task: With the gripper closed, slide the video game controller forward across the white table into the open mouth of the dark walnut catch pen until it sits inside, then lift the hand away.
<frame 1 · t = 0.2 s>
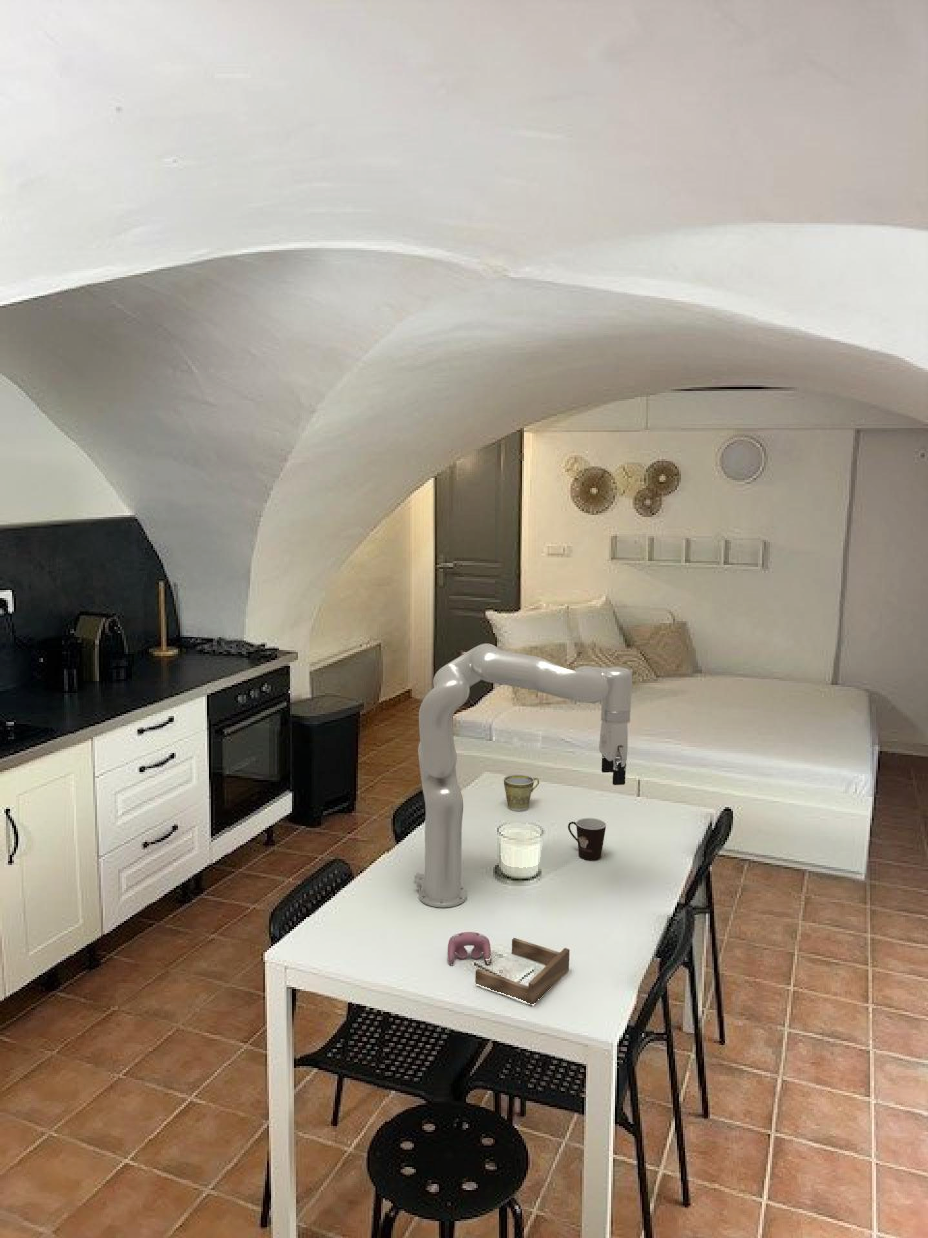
hand: (612, 778, 240), 31 cm above the table, tool pointing down, fingers open, 9 cm apart
coffee mug: (587, 855, 267), on the table
catch pen: (522, 977, 202), on the table
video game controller: (469, 960, 210), on the table
ceramic cup: (521, 808, 304), on the table
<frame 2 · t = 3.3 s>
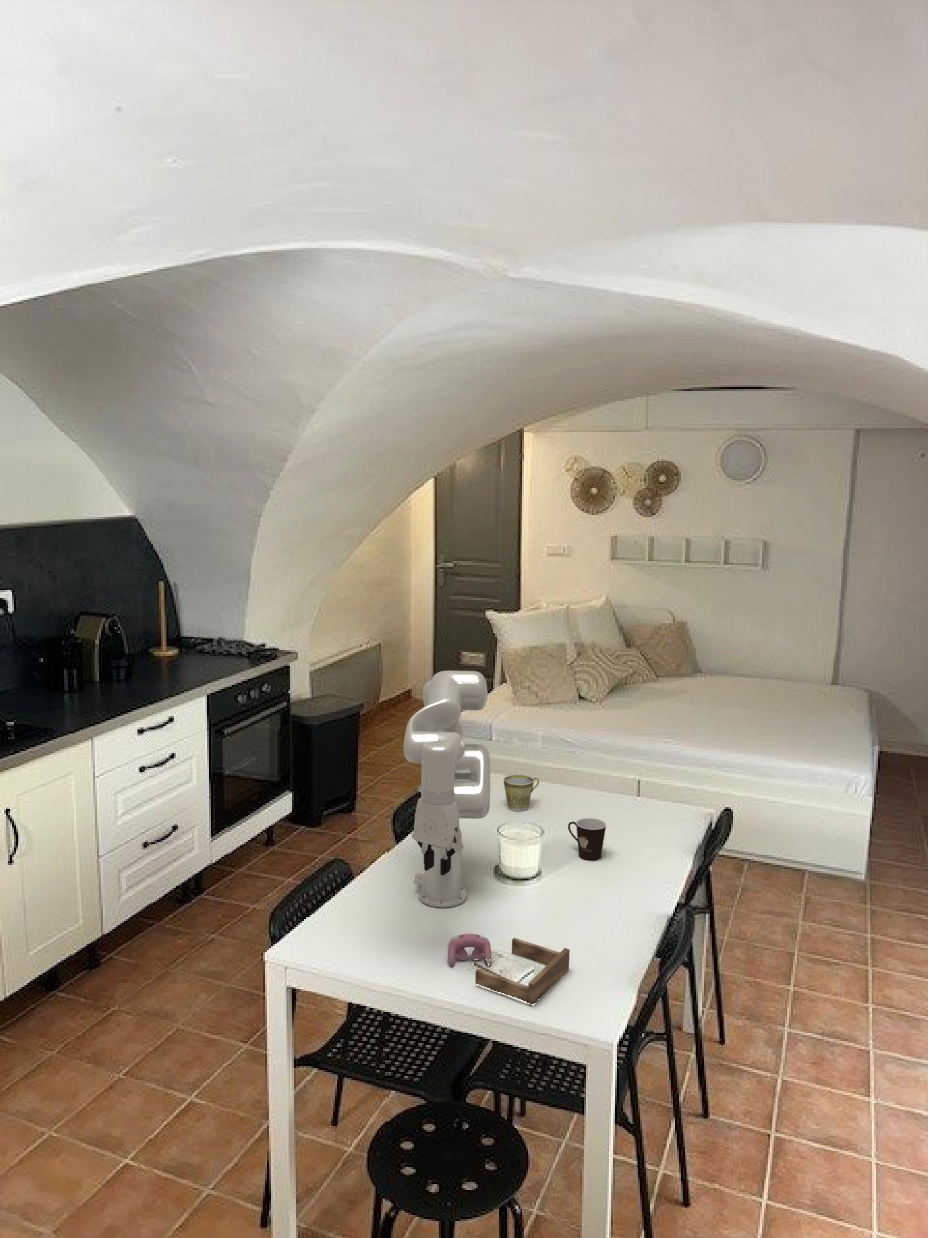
hand: (437, 870, 211), 19 cm above the table, tool pointing down, fingers open, 3 cm apart
nothing on the table moved.
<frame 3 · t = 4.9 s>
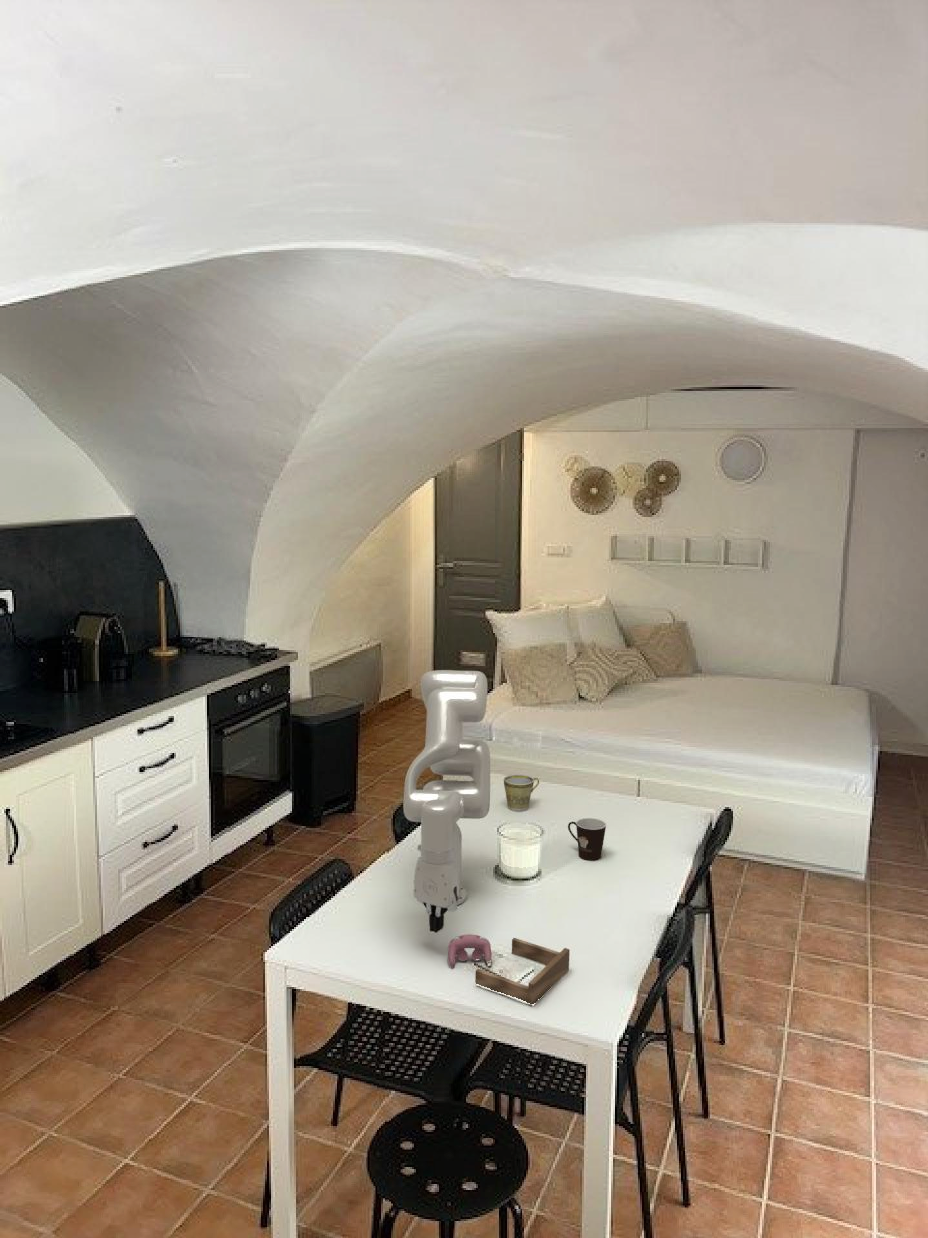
hand: (436, 929, 213), 5 cm above the table, tool pointing down, fingers closed
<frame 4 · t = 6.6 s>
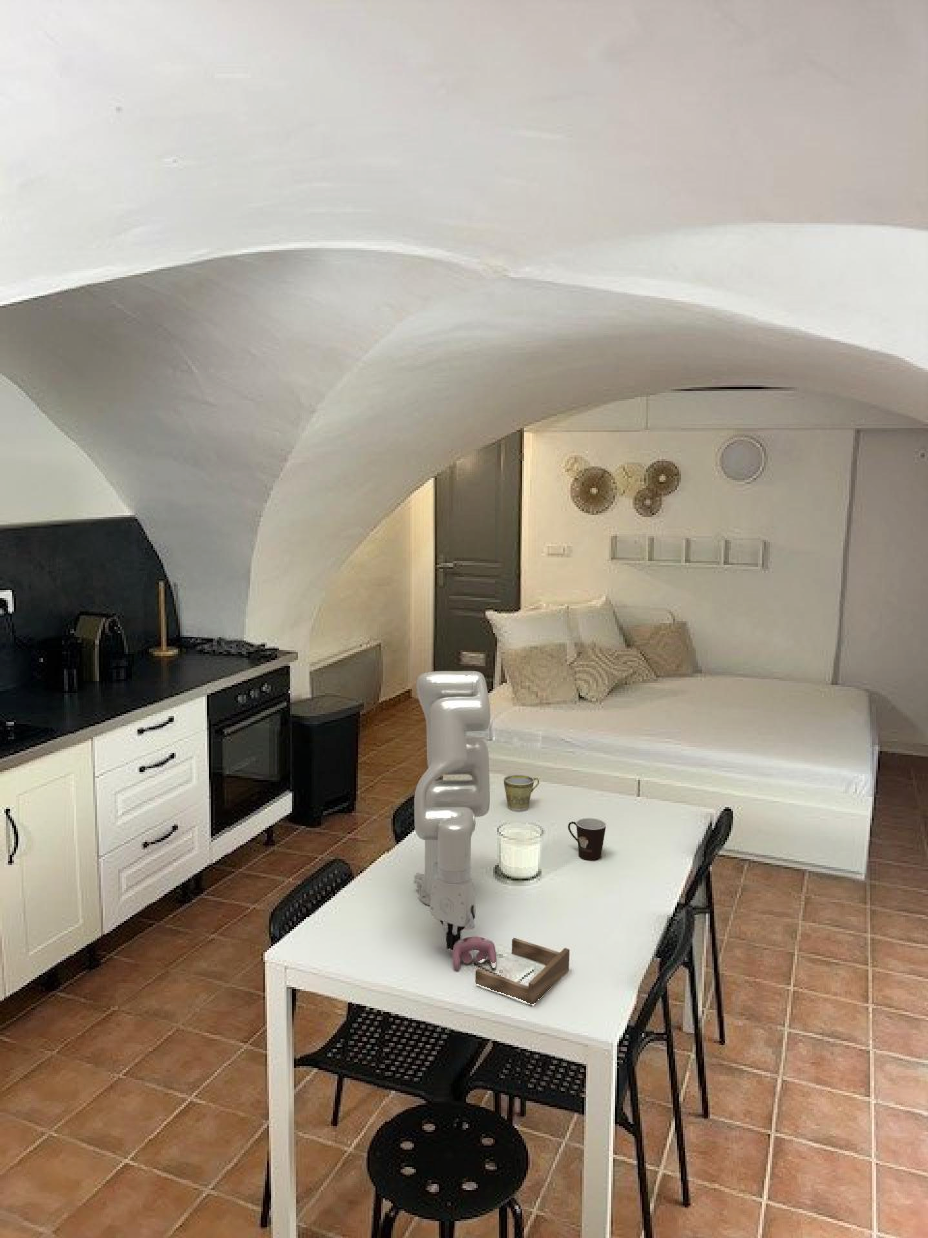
hand: (453, 947, 212), 2 cm above the table, tool pointing down, fingers closed
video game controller: (474, 965, 207), on the table, touching gripper
everything else where it was.
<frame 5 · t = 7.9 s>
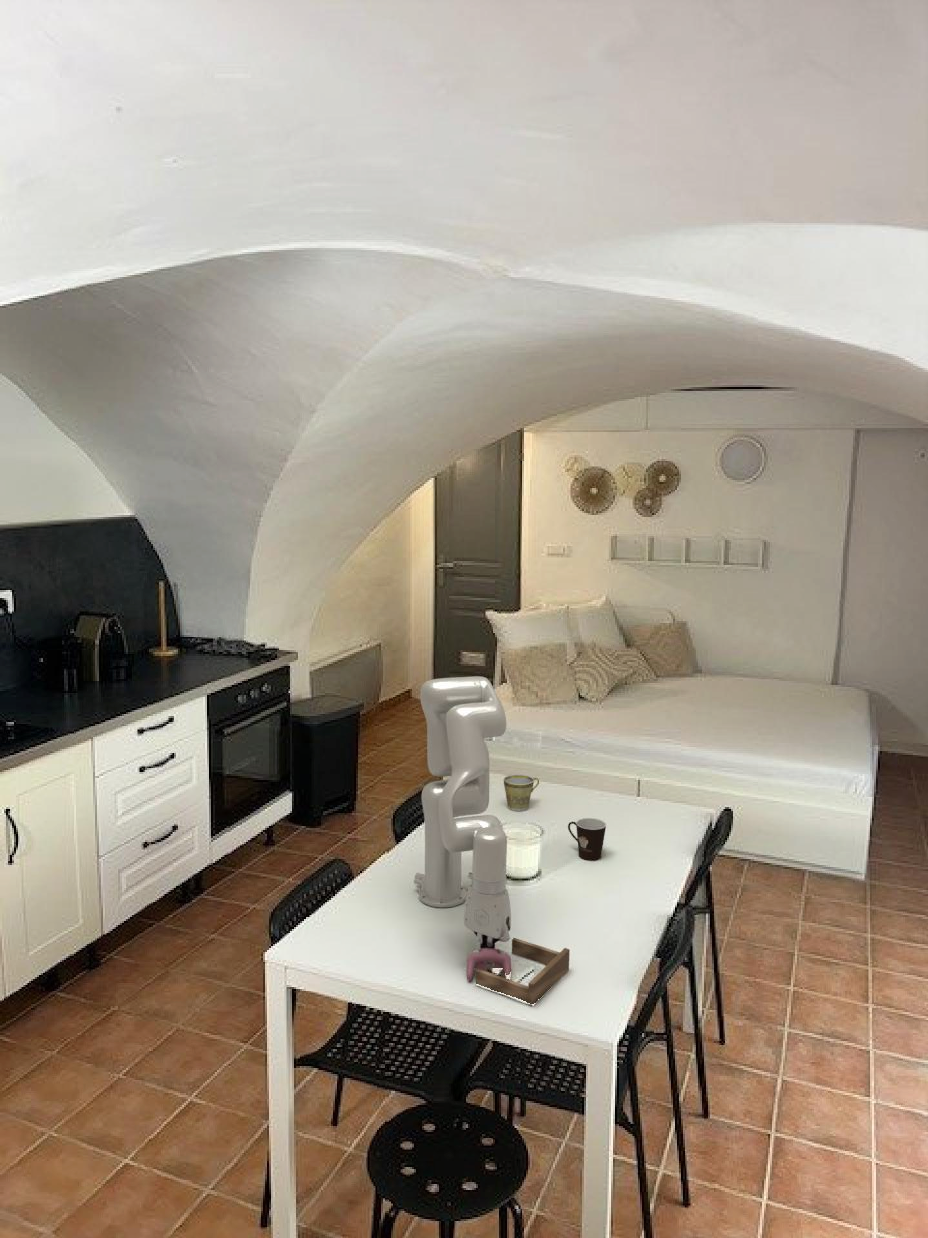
hand: (487, 958, 207), 1 cm above the table, tool pointing down, fingers closed
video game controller: (488, 977, 202), on the table, touching catch pen, gripper
everything else where it was.
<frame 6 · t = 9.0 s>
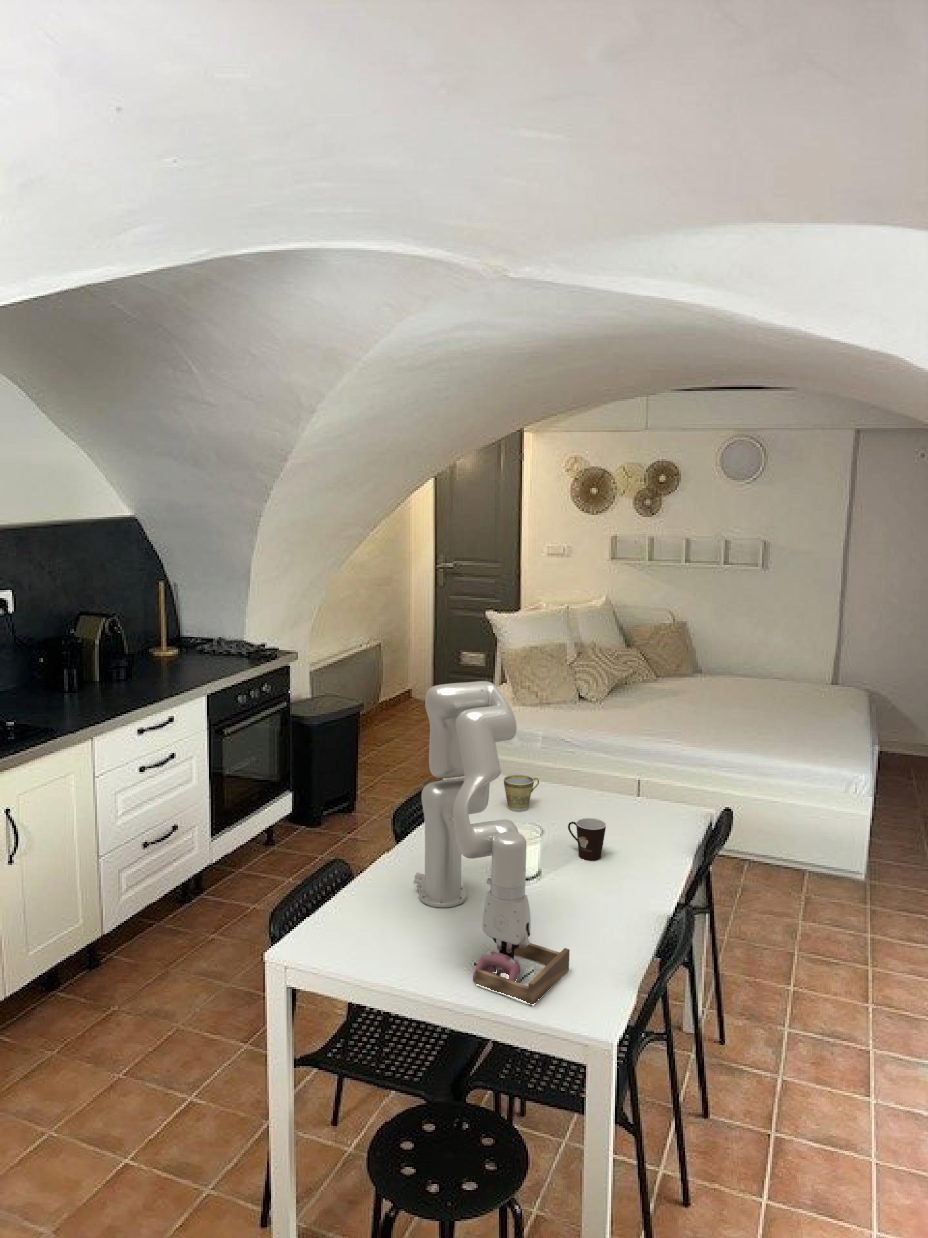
hand: (506, 965, 204), 2 cm above the table, tool pointing down, fingers closed
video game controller: (496, 982, 201), on the table, touching gripper
everything else where it was.
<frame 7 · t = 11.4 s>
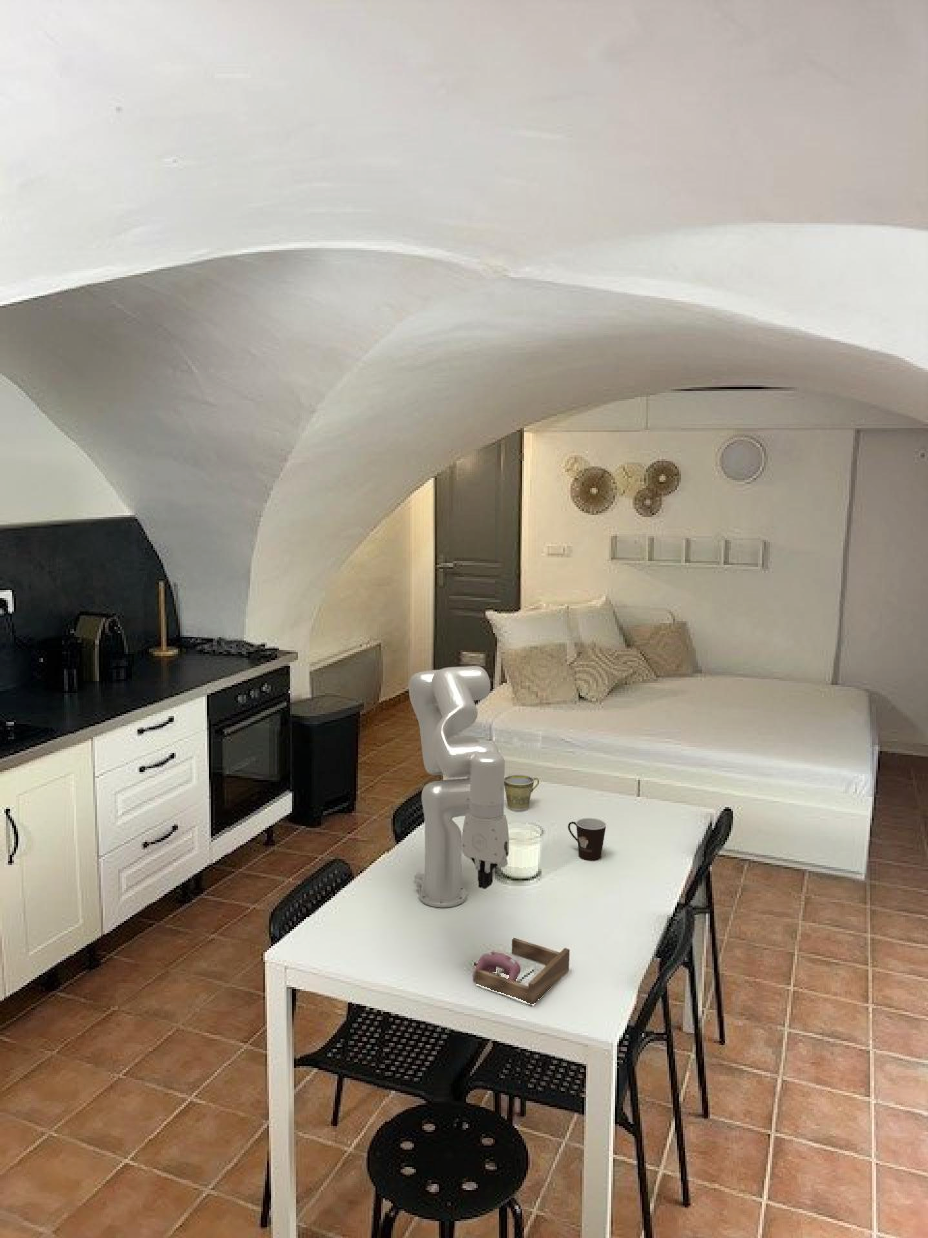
hand: (485, 886, 205), 19 cm above the table, tool pointing down, fingers closed
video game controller: (496, 982, 201), on the table
everything else where it was.
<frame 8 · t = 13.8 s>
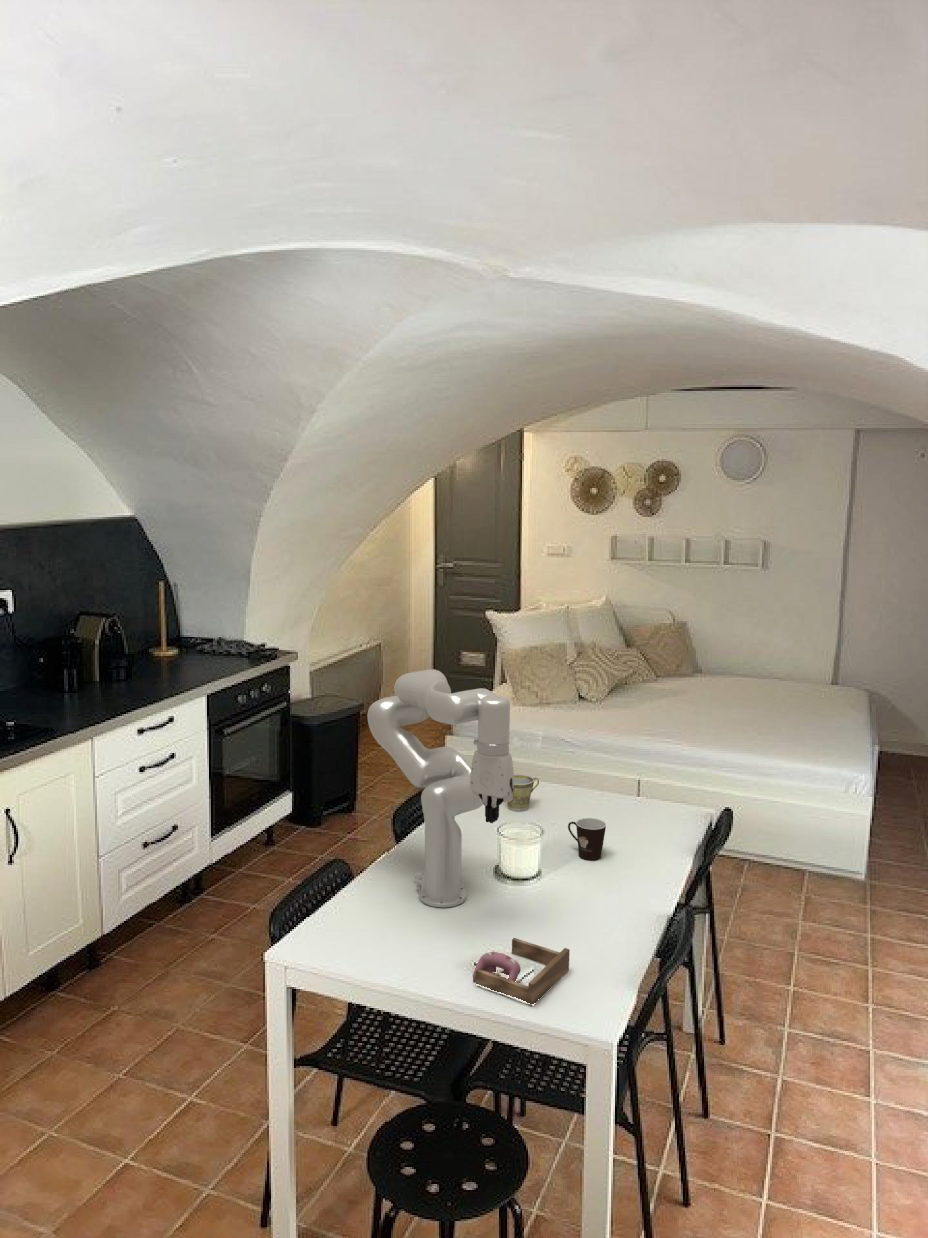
hand: (491, 820, 221), 27 cm above the table, tool pointing down, fingers closed
nothing on the table moved.
at the end: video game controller inside the target area (6.1 cm from its centre), on the table; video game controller moved 10.9 cm from its start; the gripper is holding nothing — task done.
